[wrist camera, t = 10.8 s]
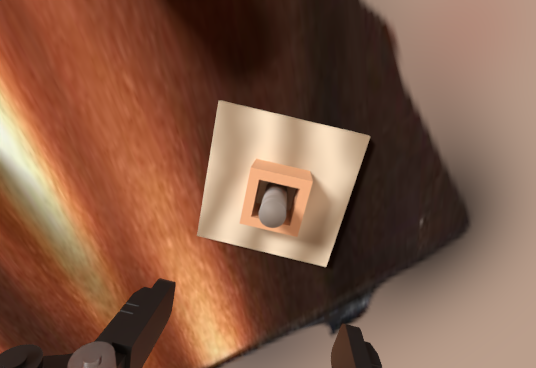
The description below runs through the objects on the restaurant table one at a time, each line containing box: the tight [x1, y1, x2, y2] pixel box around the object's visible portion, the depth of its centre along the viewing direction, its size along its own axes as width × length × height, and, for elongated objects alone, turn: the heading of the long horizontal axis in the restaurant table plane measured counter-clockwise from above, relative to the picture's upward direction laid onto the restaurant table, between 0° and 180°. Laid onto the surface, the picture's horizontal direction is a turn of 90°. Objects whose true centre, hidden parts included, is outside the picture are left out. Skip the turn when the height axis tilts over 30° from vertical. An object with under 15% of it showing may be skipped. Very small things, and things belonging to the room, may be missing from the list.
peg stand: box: [197, 101, 370, 267], centre depth 28 cm, size 16×16×8 cm
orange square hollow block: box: [240, 159, 313, 237], centre depth 29 cm, size 6×6×4 cm
